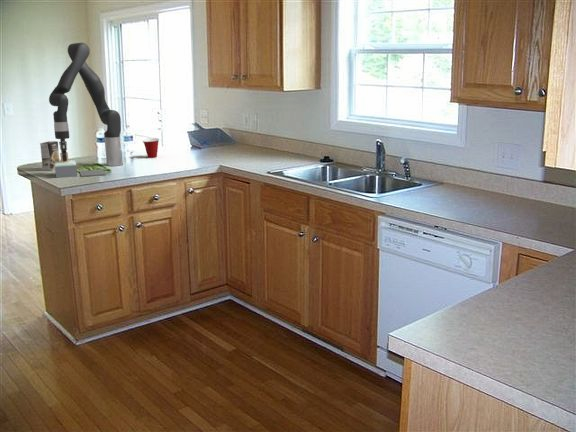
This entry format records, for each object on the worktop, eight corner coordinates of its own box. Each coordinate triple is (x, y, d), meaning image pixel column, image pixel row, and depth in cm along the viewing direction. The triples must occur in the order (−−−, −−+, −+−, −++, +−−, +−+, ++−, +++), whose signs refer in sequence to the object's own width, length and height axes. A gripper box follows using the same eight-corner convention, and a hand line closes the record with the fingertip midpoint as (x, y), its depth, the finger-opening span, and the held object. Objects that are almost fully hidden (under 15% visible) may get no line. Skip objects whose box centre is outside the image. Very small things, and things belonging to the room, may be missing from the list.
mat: (102, 170, 360) (102, 169, 360) (105, 175, 346) (105, 174, 346) (79, 172, 355) (79, 171, 355) (81, 176, 342) (81, 175, 341)
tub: (75, 172, 355) (74, 161, 354) (77, 176, 344) (76, 165, 342) (55, 173, 351) (54, 163, 350) (56, 177, 340) (55, 167, 338)
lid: (75, 163, 354) (73, 151, 352) (76, 167, 342) (75, 155, 340) (54, 164, 350) (53, 152, 348) (55, 168, 338) (54, 156, 337)
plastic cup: (142, 156, 406) (140, 138, 403) (158, 155, 410) (157, 137, 407) (145, 159, 396) (143, 140, 393) (162, 158, 400) (160, 139, 397)
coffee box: (52, 170, 360) (49, 143, 356) (42, 170, 361) (39, 143, 357) (61, 168, 368) (58, 141, 364) (51, 167, 370) (48, 140, 365)
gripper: (69, 131, 339) (72, 162, 344) (68, 128, 352) (71, 158, 356) (54, 131, 337) (58, 163, 341) (54, 128, 349) (57, 159, 353)
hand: (64, 160), depth 349 cm, fingers closed on lid
